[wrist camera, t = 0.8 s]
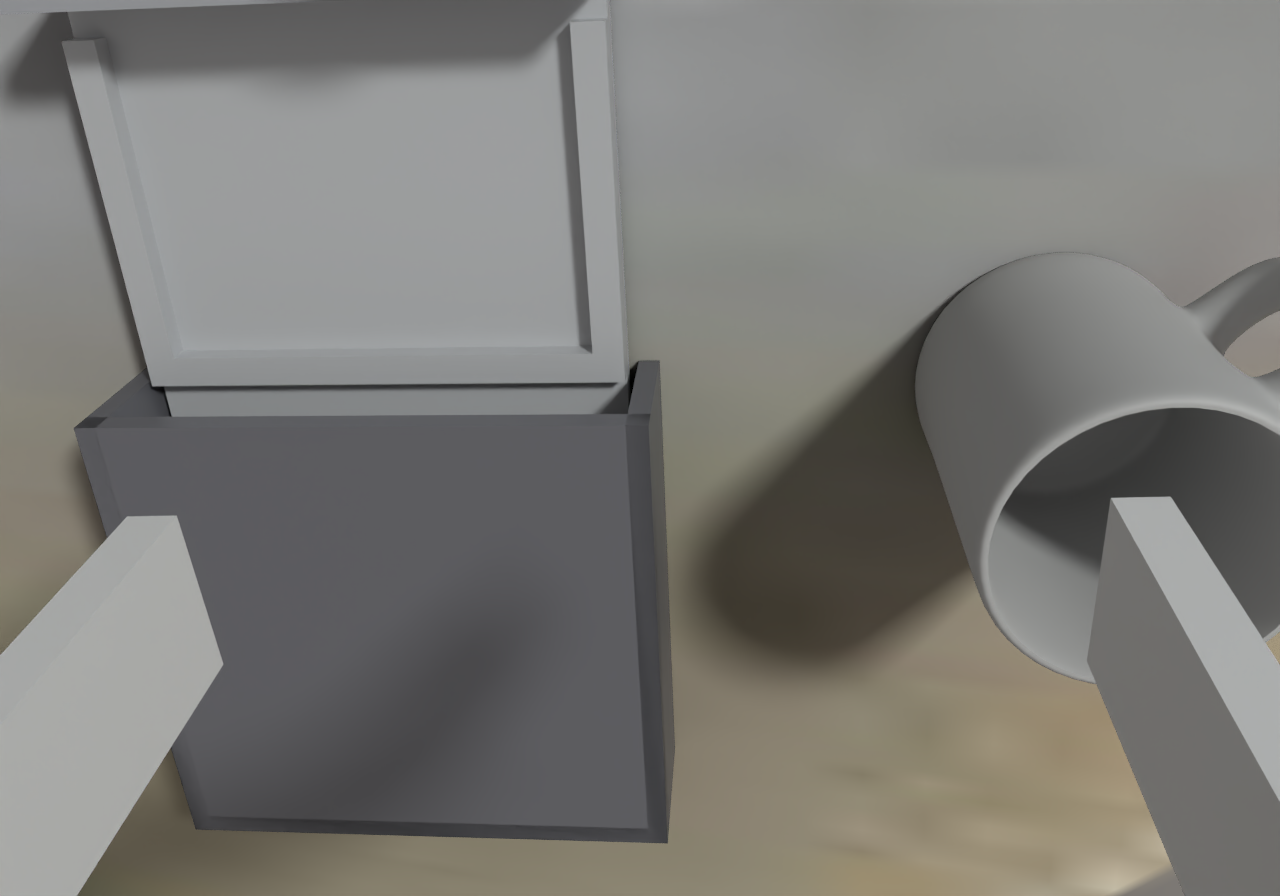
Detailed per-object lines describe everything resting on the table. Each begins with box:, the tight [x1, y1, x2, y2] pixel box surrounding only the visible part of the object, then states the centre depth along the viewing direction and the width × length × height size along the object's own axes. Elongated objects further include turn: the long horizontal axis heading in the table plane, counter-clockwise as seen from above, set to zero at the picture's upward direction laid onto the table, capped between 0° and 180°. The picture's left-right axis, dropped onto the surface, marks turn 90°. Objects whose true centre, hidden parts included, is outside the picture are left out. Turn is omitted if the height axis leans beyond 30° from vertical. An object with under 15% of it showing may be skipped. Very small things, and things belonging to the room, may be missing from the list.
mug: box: [915, 252, 1280, 684], centre depth 31 cm, size 12×8×11 cm
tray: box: [0, 0, 631, 417], centre depth 34 cm, size 17×16×4 cm
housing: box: [74, 361, 675, 843], centre depth 40 cm, size 17×18×5 cm
